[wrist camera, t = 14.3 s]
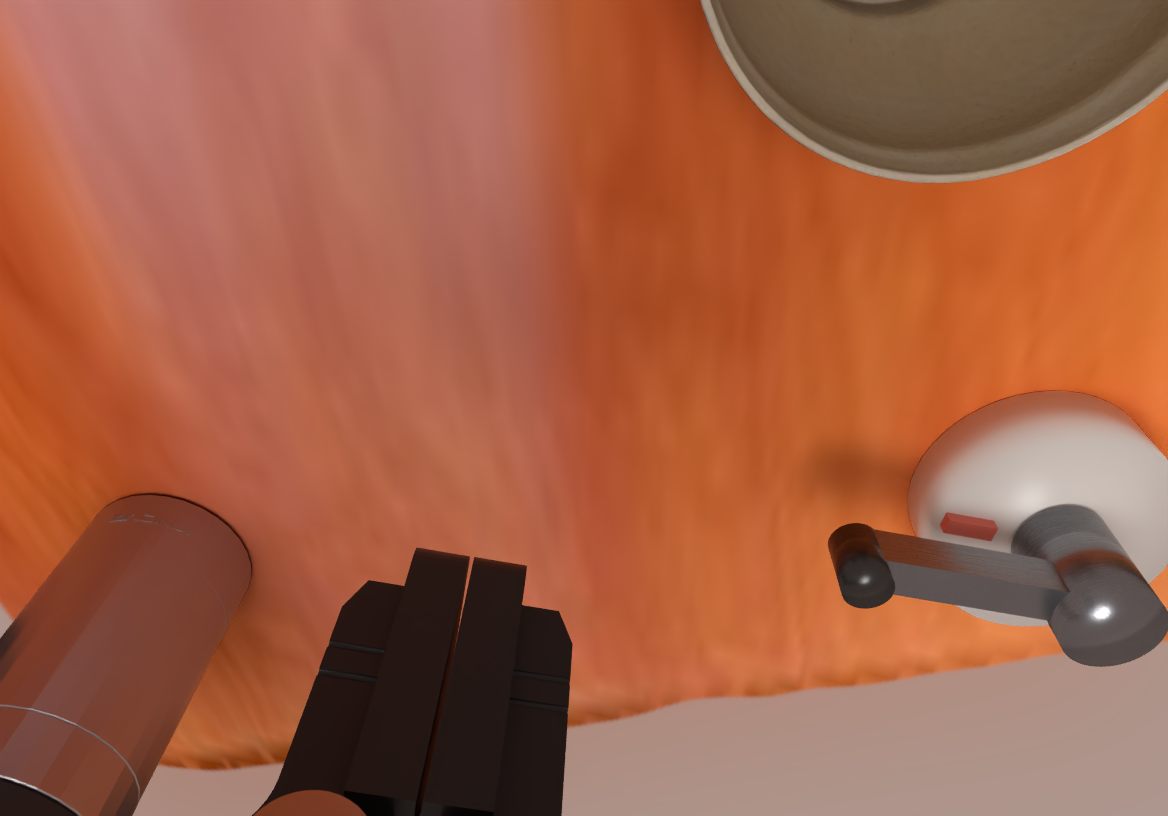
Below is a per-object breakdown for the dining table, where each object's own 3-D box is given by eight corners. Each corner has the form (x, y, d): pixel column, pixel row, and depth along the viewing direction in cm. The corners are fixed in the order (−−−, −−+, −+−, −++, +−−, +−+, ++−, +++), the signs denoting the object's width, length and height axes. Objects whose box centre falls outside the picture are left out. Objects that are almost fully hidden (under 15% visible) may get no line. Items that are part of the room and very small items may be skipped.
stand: (1077, 588, 50) (1115, 651, 46) (873, 553, 49) (895, 614, 45) (1195, 414, 44) (1251, 470, 40) (964, 370, 43) (998, 423, 39)
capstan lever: (1124, 514, 42) (1190, 603, 37) (1079, 581, 44) (1135, 673, 39) (833, 462, 41) (861, 546, 36) (802, 533, 43) (825, 621, 38)
